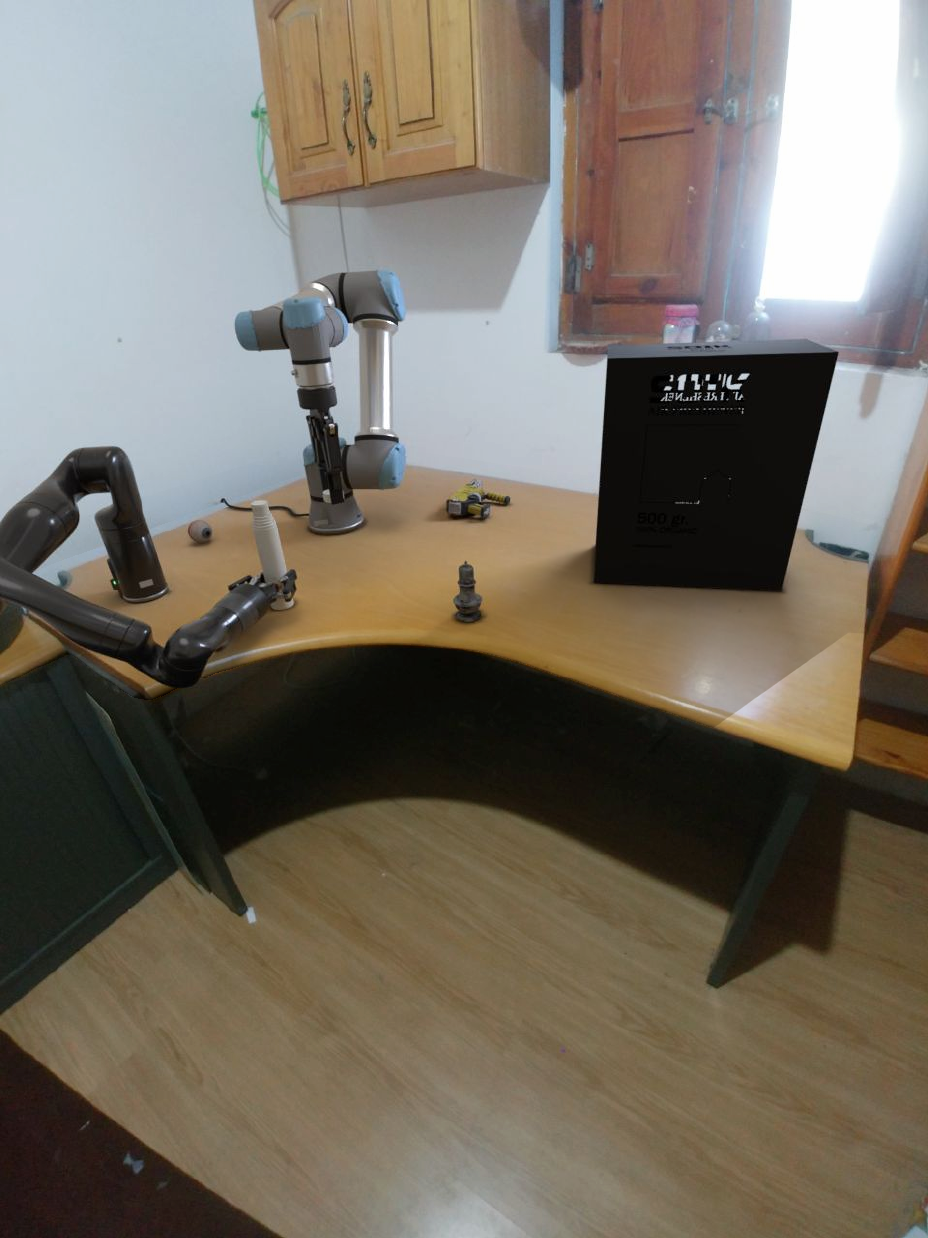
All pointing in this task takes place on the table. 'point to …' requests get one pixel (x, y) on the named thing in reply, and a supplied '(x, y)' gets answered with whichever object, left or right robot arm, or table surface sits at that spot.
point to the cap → (327, 496)
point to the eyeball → (200, 531)
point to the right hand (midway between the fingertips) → (334, 499)
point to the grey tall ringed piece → (467, 595)
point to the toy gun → (473, 500)
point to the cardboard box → (707, 461)
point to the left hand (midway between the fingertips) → (282, 572)
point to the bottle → (269, 547)
